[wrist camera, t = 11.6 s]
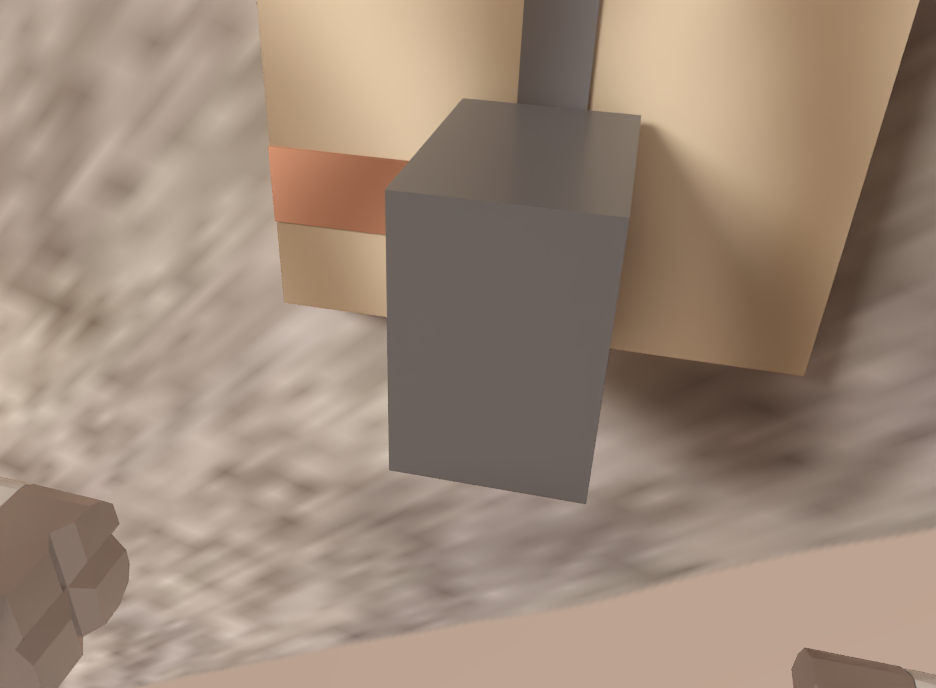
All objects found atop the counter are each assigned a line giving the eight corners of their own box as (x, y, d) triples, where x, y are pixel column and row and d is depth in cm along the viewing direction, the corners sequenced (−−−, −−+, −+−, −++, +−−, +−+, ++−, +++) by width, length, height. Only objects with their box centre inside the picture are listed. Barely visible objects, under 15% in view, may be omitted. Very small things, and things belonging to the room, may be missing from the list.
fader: (641, 115, 18) (629, 218, 13) (606, 347, 21) (586, 504, 16) (462, 98, 18) (385, 189, 13) (454, 326, 22) (389, 470, 17)
